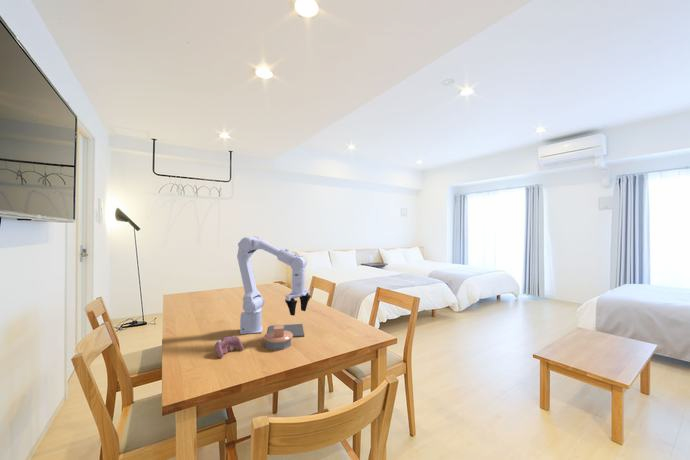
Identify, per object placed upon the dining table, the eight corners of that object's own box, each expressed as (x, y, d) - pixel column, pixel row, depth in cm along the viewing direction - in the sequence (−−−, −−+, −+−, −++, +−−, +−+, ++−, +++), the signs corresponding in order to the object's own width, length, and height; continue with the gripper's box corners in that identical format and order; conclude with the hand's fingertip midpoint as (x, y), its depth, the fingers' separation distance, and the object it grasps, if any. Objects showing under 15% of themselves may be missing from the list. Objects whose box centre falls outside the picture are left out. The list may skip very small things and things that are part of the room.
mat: (267, 339, 125) (267, 337, 125) (269, 326, 140) (269, 325, 140) (304, 336, 128) (304, 335, 128) (302, 325, 143) (302, 323, 143)
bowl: (265, 350, 114) (265, 343, 114) (267, 340, 124) (267, 333, 123) (291, 348, 116) (291, 341, 116) (290, 338, 126) (290, 332, 126)
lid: (263, 344, 113) (263, 333, 113) (265, 332, 124) (265, 323, 124) (293, 341, 115) (293, 331, 115) (292, 331, 126) (292, 321, 126)
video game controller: (239, 351, 116) (235, 334, 118) (245, 349, 114) (240, 331, 115) (215, 360, 108) (211, 341, 110) (220, 358, 106) (216, 339, 108)
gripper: (294, 287, 122) (294, 318, 122) (315, 281, 134) (314, 310, 135) (282, 285, 126) (281, 315, 126) (303, 279, 138) (303, 307, 138)
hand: (298, 312), depth 130 cm, fingers open, 7 cm apart
